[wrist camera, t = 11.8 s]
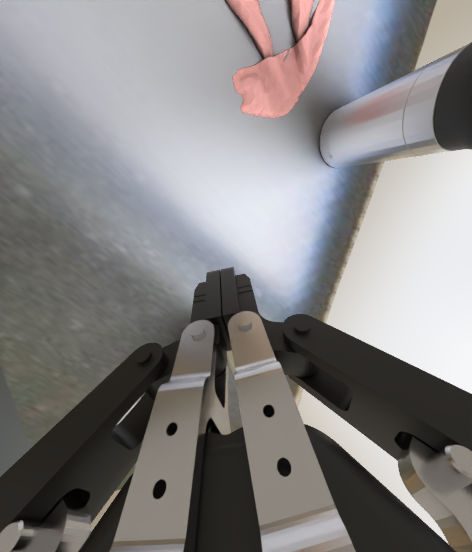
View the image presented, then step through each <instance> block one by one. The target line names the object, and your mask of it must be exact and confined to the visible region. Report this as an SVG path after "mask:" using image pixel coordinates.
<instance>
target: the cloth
mask: <svg viewBox="0 0 472 552" xmlns="http://www.w3.org/2000/svg"><path fill="white" fill-rule="evenodd" d="M225 1H226V2H227V3H228V5H229V6H230V7H231V8H232V10H233V11H234V12H235V13H236V14H237V15H238V16H239V18H240V19H241V20H242V21H243V22H244V24H245V26H246V28H247V30H248V32H249V34H250V36H251V37H252V39H253V41H254V43H255V45H256V47H257V49H258V51H259V53H260V55H261V56H262V58H263V60H262V61H261V62H259V63H258V64H256V65H254V66H251V67H246V68H242V69H239V70H237V73H236V74H235V75H234V76H232V77H233V82H234V86H235V89H236V92H237V93H239V94H242V97H243V101H244V102H243V103H242V105H241V107H240V109H241V110H242V112H243V113H247V114H253V115H255V116H262V117H270V118H276V117H282V116H284V115H287V114H288V112H289V111H290V110H291V109H292V108H293V107H294V104H296V103H297V102H298V100H299V98H298V96H301V92H303V91H304V89H305V88H306V86H307V84H308V82H309V81H310V79H311V77H312V75H313V74H314V72H315V69H316V65H317V63H318V60H319V57H320V55H321V52H322V46H323V43H324V41H325V38H326V35H327V33H328V29H329V22H330V19H331V14H332V11H333V8H334V4H335V0H320V1H319V4H318V6H317V8H316V11H315V13H314V16H313V19H312V24H311V26H310V28H309V29H308V27H309V19H310V14H311V10H312V5H313V1H314V0H288V1H289V5H290V8H291V12H292V30H293V35H294V38H295V41H296V45H295V46H294V47H292V48H290V49H289V51H290V52H289V54H288V56H287V58H286V60H285V61H283V60H284V58H285V56H286V54H287V51H288V50H285V51H284V52H283V53H281V54H277V55H276V56H274V52H273V46H272V41H271V37H270V33H269V30H268V27H267V25H266V22H265V20H264V17H263V15H262V13H261V11H260V5H259V0H225Z"/></svg>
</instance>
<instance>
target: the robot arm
mask: <svg viewBox="0 0 472 552" xmlns="http://www.w3.org/2000/svg"><path fill="white" fill-rule="evenodd" d="M461 149H472V42H471V43H469V44H467V45H465V46H463V47H461V48H459V49H457V50H455V51H453V52H451V53H449V54H447V55H445V56H443V57H441V58H439V59H437V60H435V61H433V62H431V63H429V64H427V65H425V66H423V67H421V68H419V69H417V70H415V71H413V72H411V73H409V74H407V75H405V76H403V77H401V78H399V79H397V80H395V81H393V82H391V83H389V84H387V85H385V86H383V87H381V88H379V89H377V90H375V91H373V92H371V93H369V94H367V95H365V96H363V97H361V98H359V99H356V100H354V101H352V102H350V103H348V104H346V105H344V106H342V107H340V108H338V109H336V110H335V111H333V112H332V113H331V114H330V115H329V116H328V118H327V119H326V121H325V123H324V125H323V127H322V130H321V134H320V151H321V155H322V157H323V159H324V161H325V162H326V163H327V164H328V165H329V166H331V167H333V168H341V167H348V166H355V165H362V164H369V163H375V162H382V161H388V160H395V159H402V158H408V157H415V156H422V155H428V154H434V153H440V152H448V151H454V150H461ZM231 350H232V354H233V359H234V365H235V382H236V388H237V394H238V400H239V406H240V412H241V418H242V424H243V427H242V428H240V429H238V430H236V431H234V432H232V433H230V422H229V417H228V363H227V351H231ZM285 375H288V376H289V377H290V378H291V379H292V380H293V381H294V382H296V383H297V384H298V385H300V386H301V387H302V388H303V389H305V390H306V391H307V392H309V393H310V394H311V395H313V396H314V397H315V398H317V399H318V400H319V401H321V402H322V403H323V404H324V405H326V406H327V407H328V408H330V409H331V410H332V411H334V412H335V413H336V414H338V415H339V416H340V417H341V418H343V419H344V420H345V421H347V422H348V423H349V424H351V425H352V426H353V427H355V428H356V429H357V430H358V431H360V432H361V433H362V434H364V435H365V436H366V437H368V438H369V439H370V440H372V441H373V442H374V443H376V444H377V445H378V446H379V447H381V448H382V449H383V450H385V451H386V452H387V453H388V454H390V455H391V456H392V457H394V458H395V459H396V460H398V468H399V472H400V476H401V478H402V481H403V483H404V485H405V486H406V488H407V490H408V491H409V493H410V494H411V495H412V497H413V498H414V499H415V500H416V501H417V502H418V503H419V504H420V505H421V506H422V507H423V508H424V509H425V510H426V511H427V512H428V513H429V514H430V516H431V517H432V518H433V519H434V520H435V522H436V523H437V524H438V526H439V527H440V529H441V530H442V532H443V534H444V535H445V537H446V539H447V541H448V543H449V545H448V544H447V543H446V542H445V541H444V540H443V539H442V538H441V537H440V536H439V535H437V534H436V533H435V532H434V531H433V530H432V529H431V528H430V527H429V526H428V525H426V524H425V523H424V522H423V521H422V520H421V519H420V518H419V517H418V516H417V515H416V514H414V513H413V512H412V511H411V510H410V509H409V508H408V507H407V506H406V505H405V504H403V503H402V502H401V501H400V500H399V499H398V498H397V497H396V496H395V495H393V494H392V493H391V492H390V491H389V490H388V489H387V488H386V487H385V486H384V485H382V484H381V483H380V482H379V481H378V480H377V479H376V478H375V477H374V476H373V475H371V474H370V473H369V472H368V471H367V470H366V469H365V468H364V467H363V466H362V465H360V463H358V462H357V461H356V460H355V459H354V458H353V457H352V456H350V454H348V453H347V452H346V451H345V450H344V449H343V448H342V447H341V446H339V444H337V443H336V442H335V441H334V440H333V439H331V438H330V437H329V436H327V435H326V434H324V433H322V432H321V431H319V430H317V429H315V428H313V427H311V426H308V425H305V424H303V422H302V419H301V416H300V413H299V411H298V408H297V406H296V403H295V400H294V398H293V395H292V393H291V390H290V387H289V385H288V382H287V380H286V377H285ZM145 392H146V394H145V395H144V396H143V397H142V398H141V399H140V400H139V402H138V403H137V404H136V405H135V406H134V407H133V408H132V410H131V411H130V412H129V413H128V414H127V415H126V416H125V418H124V419H123V420H122V421H121V422H120V423H119V424H117V423H118V422H119V421H120V420H121V419H122V417H123V416H124V415H125V414H126V413H127V412H128V411H129V410H130V408H131V407H132V406H133V405H134V404H135V403H136V402H137V400H138V399H139V398H140V397H141V396H142V395H143V394H144V393H145ZM116 424H117V425H116ZM136 462H137V463H136ZM135 463H136V467H135V470H134V473H133V474H132V475H131V476H130V478H129V479H128V480H127V482H126V483H125V485H124V486H123V487H122V489H121V490H120V492H119V493H118V495H117V496H116V498H115V499H114V501H113V502H112V503H111V505H110V506H109V508H108V509H107V511H106V512H105V513H104V515H103V516H102V518H101V519H100V521H99V522H98V524H97V525H96V526H95V528H94V529H93V531H92V532H91V531H90V527H91V523H92V521H93V520H94V519H95V517H96V516H97V515H98V513H99V512H100V510H101V509H102V508H103V506H104V505H105V504H106V502H107V501H108V500H109V498H110V497H111V495H112V494H113V493H114V491H115V490H116V489H117V487H118V486H119V485H120V483H121V482H122V481H123V479H124V478H125V477H126V475H127V474H128V472H129V471H130V470H131V468H132V467H133V466H134V464H135ZM0 552H472V394H470V393H468V392H466V391H464V390H462V389H460V388H458V387H456V386H454V385H452V384H450V383H448V382H445V381H444V380H441V379H439V378H437V377H435V376H433V375H431V374H429V373H427V372H425V371H423V370H421V369H419V368H417V367H414V366H412V365H410V364H408V363H406V362H404V361H402V360H400V359H398V358H396V357H394V356H392V355H389V354H387V353H385V352H384V351H381V350H379V349H377V348H375V347H373V346H371V345H369V344H367V343H365V342H362V341H361V340H359V339H356V338H355V337H353V336H350V335H348V334H346V333H344V332H342V331H340V330H338V329H336V328H334V327H332V326H330V325H327V324H326V323H324V322H322V321H319V320H317V319H315V318H313V317H311V316H309V315H305V314H296V315H292V316H290V317H288V318H287V319H286V320H285V321H284V323H282V322H272V321H268V320H266V319H264V318H263V317H262V316H261V315H260V314H259V312H258V309H257V305H256V301H255V297H254V293H253V290H252V286H251V282H250V278H249V277H247V276H246V275H245V274H241V275H236V276H235V271H234V267H231V268H226V269H221V271H220V270H217V271H212V272H207V276H206V282H203V283H199V284H198V286H197V287H196V289H195V292H194V300H193V308H192V315H191V323H190V325H188V326H187V327H186V328H185V330H184V331H183V333H182V336H181V339H179V340H178V341H176V342H174V343H172V344H170V345H168V346H166V347H164V348H162V347H161V345H159V344H157V343H148V344H145V345H143V346H141V347H139V348H138V349H137V350H135V351H134V352H133V353H132V354H131V355H130V356H129V357H128V358H127V359H126V360H125V361H124V362H123V363H121V364H120V365H119V366H118V367H117V368H116V369H115V370H114V371H113V372H112V373H111V374H110V375H109V376H108V377H107V378H105V379H104V380H103V381H102V382H101V383H100V384H99V385H98V386H97V387H96V388H95V389H94V390H93V391H92V392H91V393H89V394H88V395H87V396H86V397H85V398H84V399H83V400H82V401H81V402H80V403H79V404H78V405H77V406H76V407H75V408H73V409H72V410H71V411H70V412H69V413H68V414H67V415H66V416H65V417H64V418H63V419H62V420H61V421H60V422H59V423H57V424H56V425H55V426H54V427H53V428H52V429H51V430H50V431H49V432H48V433H47V434H46V435H45V436H44V437H43V438H41V439H40V440H39V441H38V442H37V443H36V444H35V445H34V446H33V447H32V448H31V449H30V450H29V451H28V452H27V453H25V454H24V455H23V456H22V457H21V458H20V459H19V460H18V461H17V462H16V463H15V464H14V465H13V466H12V467H11V468H9V470H7V471H6V472H5V473H4V474H3V475H2V476H1V477H0Z"/></svg>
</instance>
